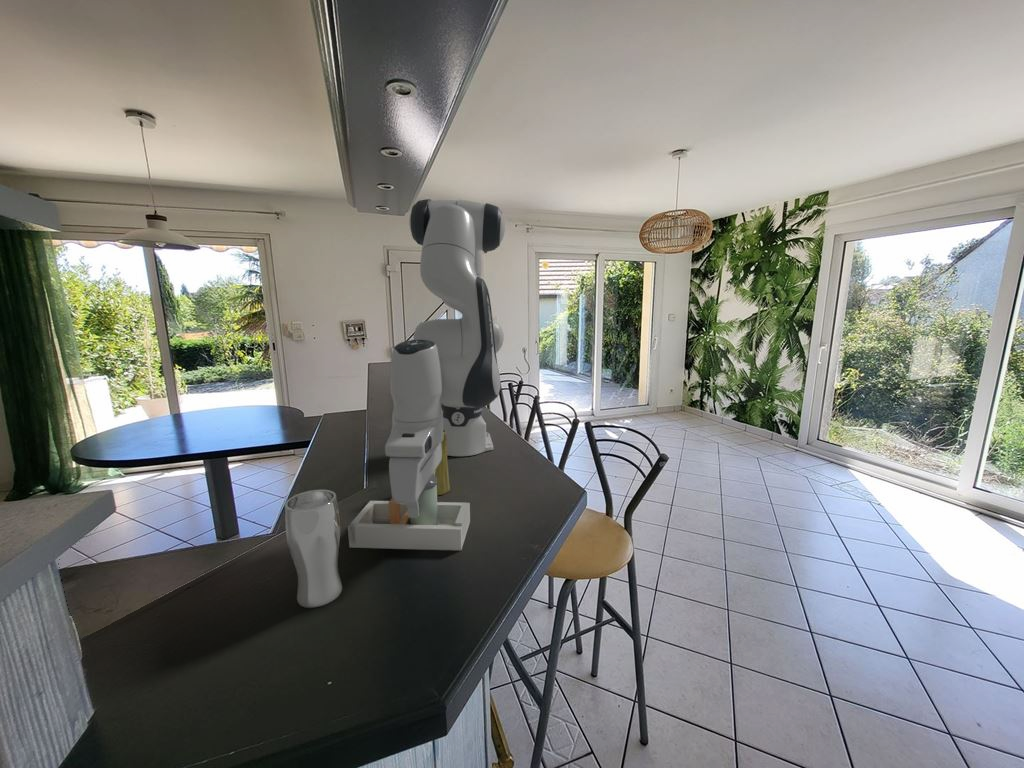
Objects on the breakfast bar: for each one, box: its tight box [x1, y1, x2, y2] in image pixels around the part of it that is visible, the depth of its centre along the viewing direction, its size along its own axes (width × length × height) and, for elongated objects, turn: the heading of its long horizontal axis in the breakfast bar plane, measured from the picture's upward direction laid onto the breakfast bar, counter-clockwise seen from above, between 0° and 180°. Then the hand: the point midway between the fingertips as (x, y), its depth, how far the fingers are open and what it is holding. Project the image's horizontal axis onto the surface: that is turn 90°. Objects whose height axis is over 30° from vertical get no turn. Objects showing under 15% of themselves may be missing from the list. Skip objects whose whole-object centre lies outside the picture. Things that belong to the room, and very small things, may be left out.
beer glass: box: [284, 489, 343, 609], centre depth 59 cm, size 7×7×15 cm
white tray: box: [347, 500, 471, 551], centre depth 77 cm, size 10×20×4 cm, turn 87°
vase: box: [435, 429, 451, 496], centre depth 94 cm, size 6×6×14 cm
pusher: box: [373, 496, 410, 525], centre depth 76 cm, size 7×7×6 cm
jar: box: [409, 475, 438, 525], centre depth 76 cm, size 5×5×10 cm
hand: (421, 503), depth 76 cm, fingers open, 8 cm apart
